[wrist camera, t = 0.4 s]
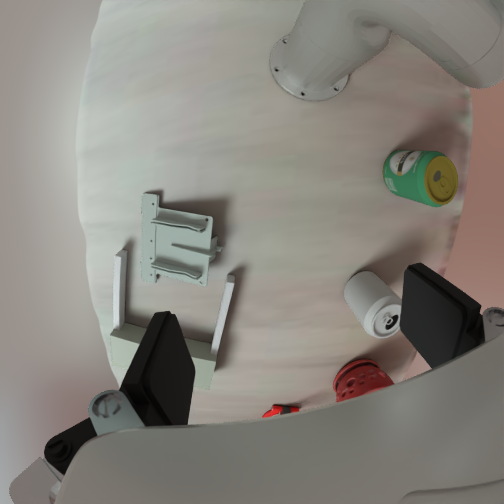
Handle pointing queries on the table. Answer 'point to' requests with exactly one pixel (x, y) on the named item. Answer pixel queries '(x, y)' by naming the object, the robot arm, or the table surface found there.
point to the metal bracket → (175, 243)
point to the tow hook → (280, 410)
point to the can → (373, 304)
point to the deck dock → (130, 336)
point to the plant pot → (359, 379)
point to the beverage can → (421, 176)
